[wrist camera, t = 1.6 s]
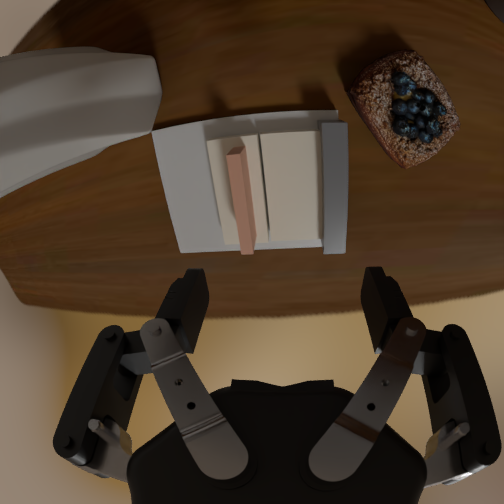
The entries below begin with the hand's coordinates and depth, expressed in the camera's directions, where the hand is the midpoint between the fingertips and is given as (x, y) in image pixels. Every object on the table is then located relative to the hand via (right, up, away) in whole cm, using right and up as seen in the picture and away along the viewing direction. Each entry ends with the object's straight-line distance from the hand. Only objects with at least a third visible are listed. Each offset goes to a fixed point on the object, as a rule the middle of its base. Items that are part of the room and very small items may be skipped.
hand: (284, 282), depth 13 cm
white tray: (-2, +9, +17) cm, 19 cm away
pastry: (+15, +17, +10) cm, 25 cm away
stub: (-3, +8, +16) cm, 18 cm away
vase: (-15, +19, +12) cm, 27 cm away
